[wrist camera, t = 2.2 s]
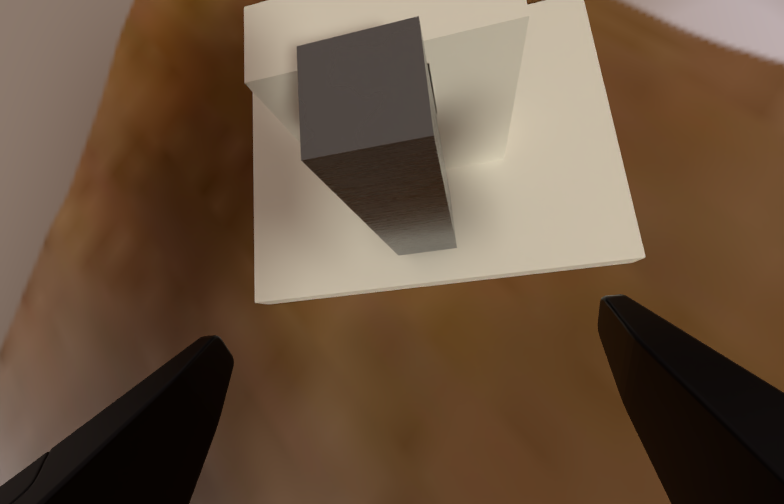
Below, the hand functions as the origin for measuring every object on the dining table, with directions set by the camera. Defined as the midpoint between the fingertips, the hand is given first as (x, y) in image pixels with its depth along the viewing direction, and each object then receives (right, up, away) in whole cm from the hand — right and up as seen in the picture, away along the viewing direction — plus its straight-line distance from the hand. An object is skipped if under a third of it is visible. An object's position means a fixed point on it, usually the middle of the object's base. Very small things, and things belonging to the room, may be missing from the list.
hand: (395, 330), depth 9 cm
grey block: (+1, +7, +12) cm, 14 cm away
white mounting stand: (+2, +7, +14) cm, 16 cm away
